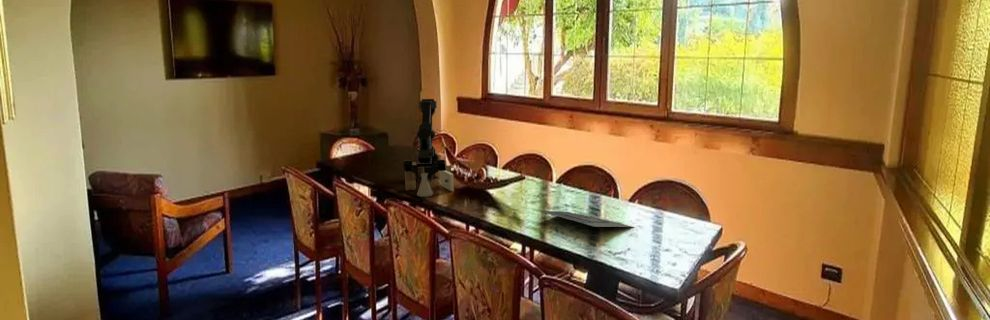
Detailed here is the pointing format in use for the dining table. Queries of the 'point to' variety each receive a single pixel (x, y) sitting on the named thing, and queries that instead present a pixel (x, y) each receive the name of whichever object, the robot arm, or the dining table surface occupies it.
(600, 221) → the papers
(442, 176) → the door
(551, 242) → the dining table surface
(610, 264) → the dining table surface
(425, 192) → the flask
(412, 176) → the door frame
